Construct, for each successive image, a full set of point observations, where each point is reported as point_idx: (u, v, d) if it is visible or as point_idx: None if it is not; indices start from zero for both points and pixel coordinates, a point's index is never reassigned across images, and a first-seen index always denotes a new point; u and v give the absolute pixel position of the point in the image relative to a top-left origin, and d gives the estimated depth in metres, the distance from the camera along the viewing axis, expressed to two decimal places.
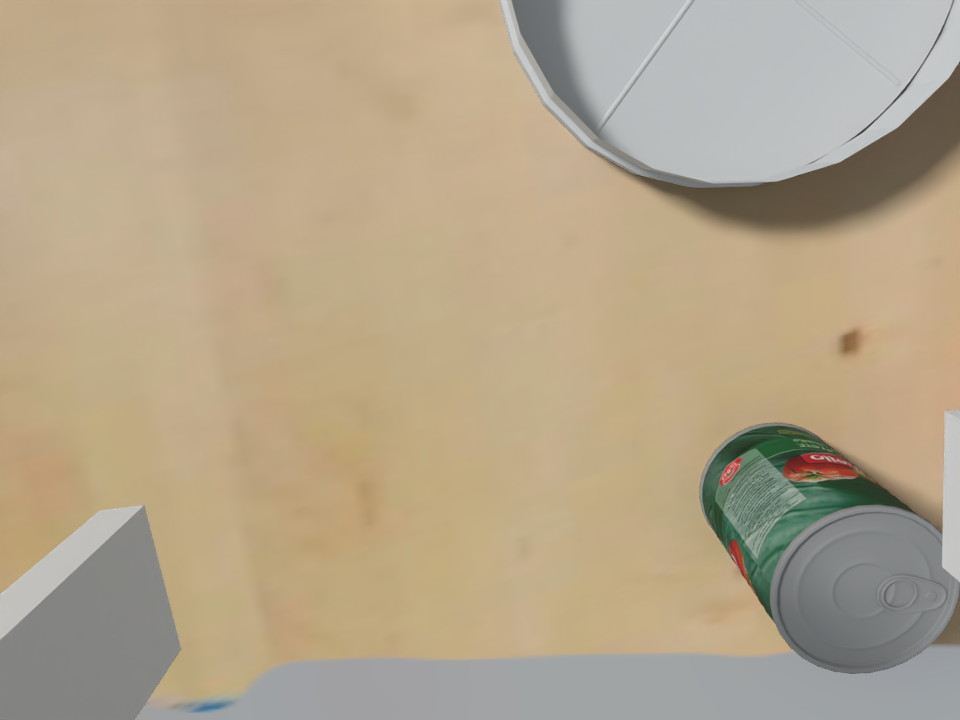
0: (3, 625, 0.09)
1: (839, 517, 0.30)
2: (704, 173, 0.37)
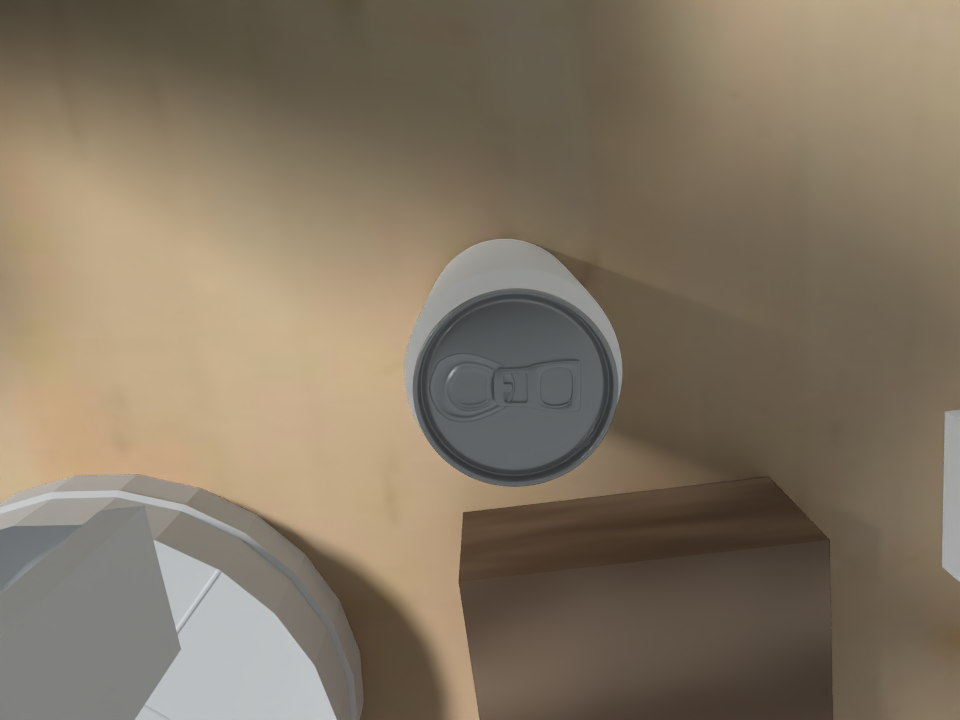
0: (3, 625, 0.09)
1: None
2: None
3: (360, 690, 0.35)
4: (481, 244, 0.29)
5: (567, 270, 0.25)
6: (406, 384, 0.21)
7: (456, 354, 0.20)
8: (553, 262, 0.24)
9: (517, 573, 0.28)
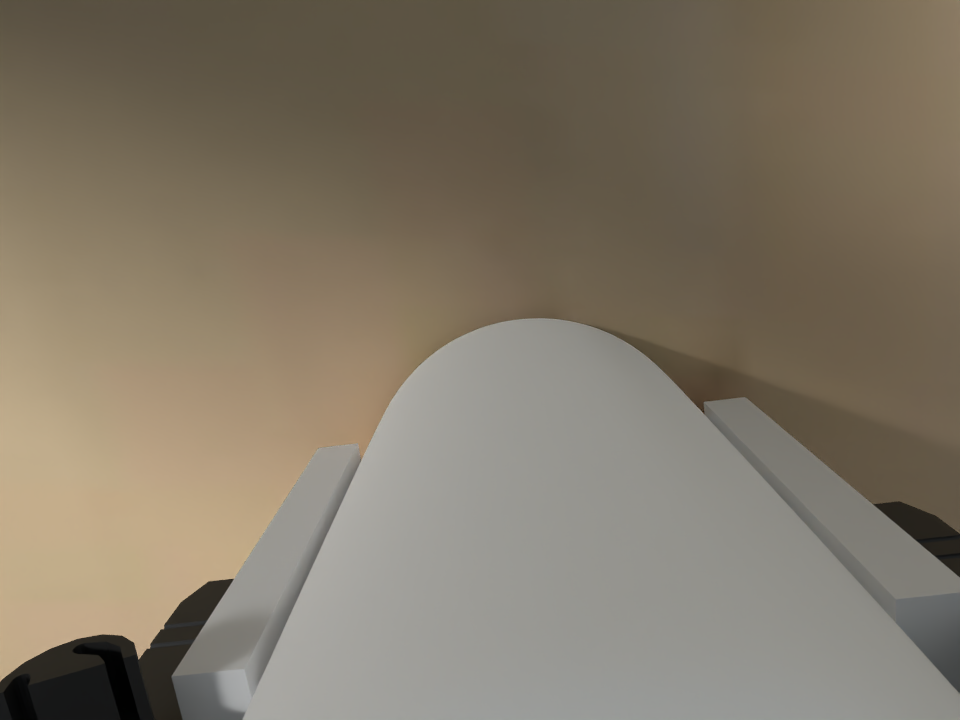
0: (304, 525, 0.10)
1: None
2: None
3: None
4: (486, 339, 0.12)
5: (740, 457, 0.09)
6: None
7: None
8: (715, 453, 0.08)
9: None
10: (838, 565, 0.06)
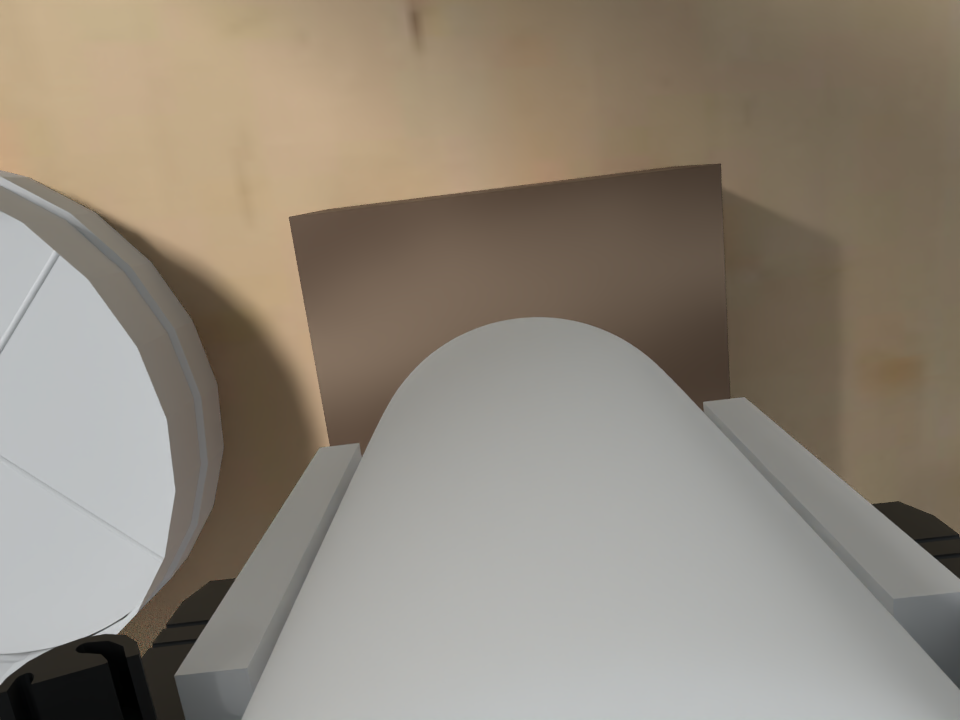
0: (306, 525, 0.10)
1: None
2: None
3: (216, 427, 0.31)
4: (486, 338, 0.12)
5: (740, 455, 0.09)
6: None
7: None
8: (715, 451, 0.08)
9: (358, 208, 0.24)
10: (838, 562, 0.06)
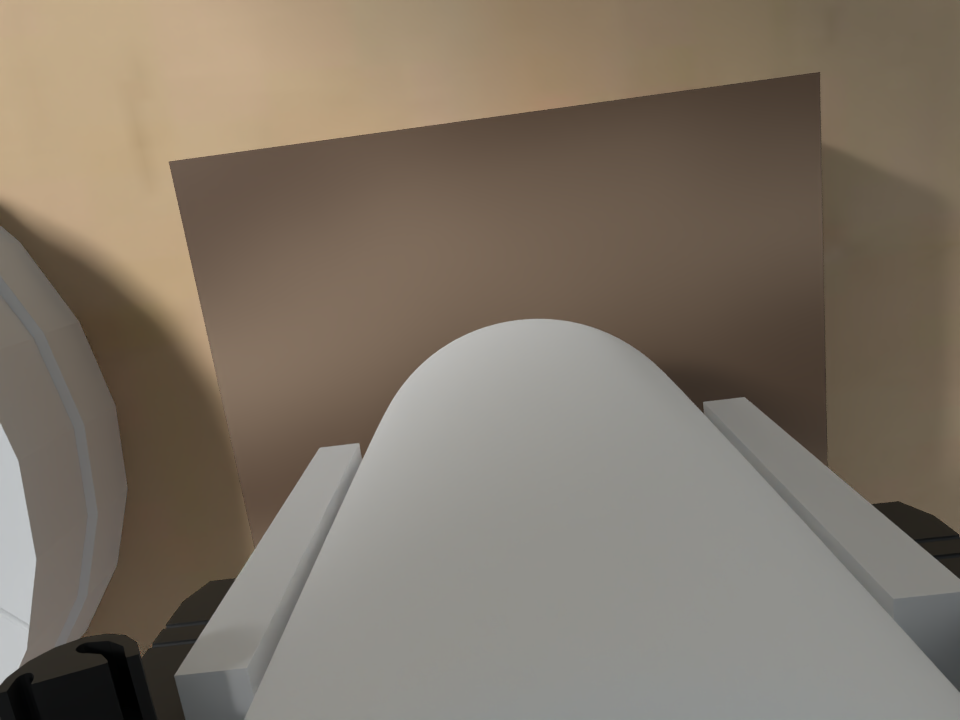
0: (306, 525, 0.10)
1: None
2: None
3: (113, 463, 0.23)
4: (486, 340, 0.12)
5: (741, 458, 0.09)
6: None
7: None
8: (717, 454, 0.08)
9: (273, 148, 0.16)
10: (840, 566, 0.06)
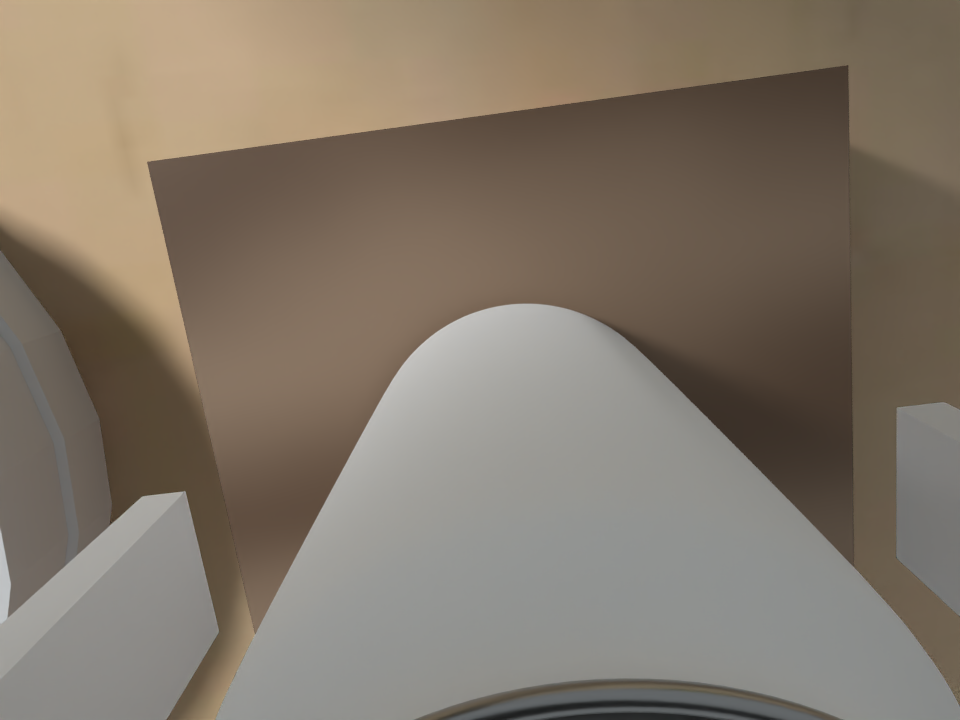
0: (65, 602, 0.09)
1: None
2: None
3: (96, 479, 0.22)
4: (479, 319, 0.14)
5: (696, 408, 0.10)
6: None
7: None
8: (671, 398, 0.09)
9: (259, 147, 0.15)
10: (763, 476, 0.08)
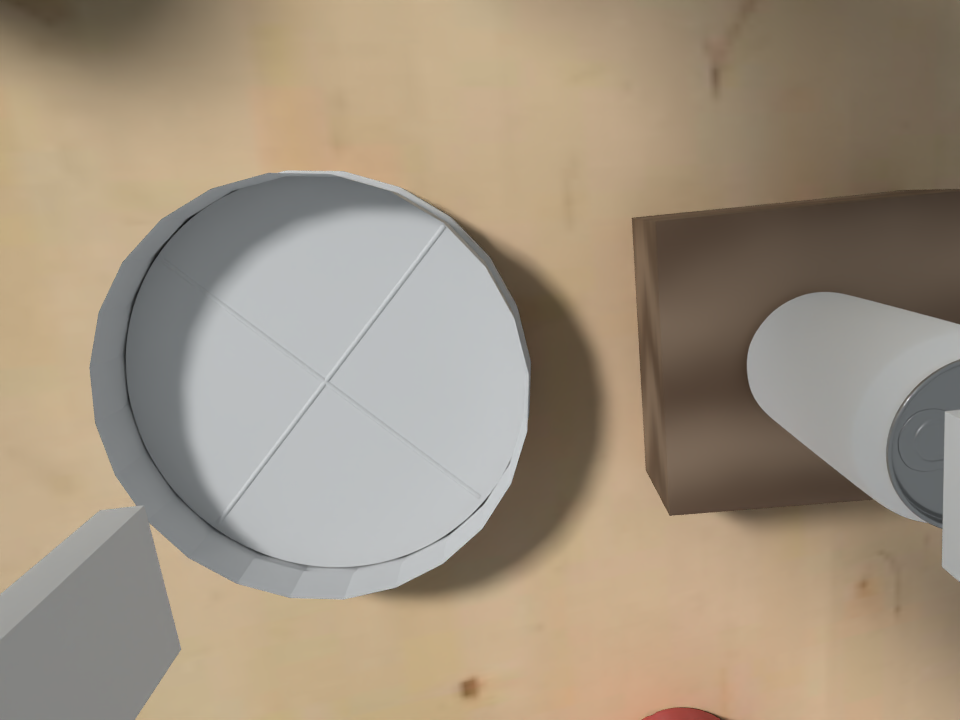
0: (3, 625, 0.09)
1: None
2: (316, 557, 0.42)
3: None
4: (819, 297, 0.31)
5: None
6: (855, 433, 0.23)
7: (929, 409, 0.22)
8: None
9: (706, 216, 0.32)
10: None
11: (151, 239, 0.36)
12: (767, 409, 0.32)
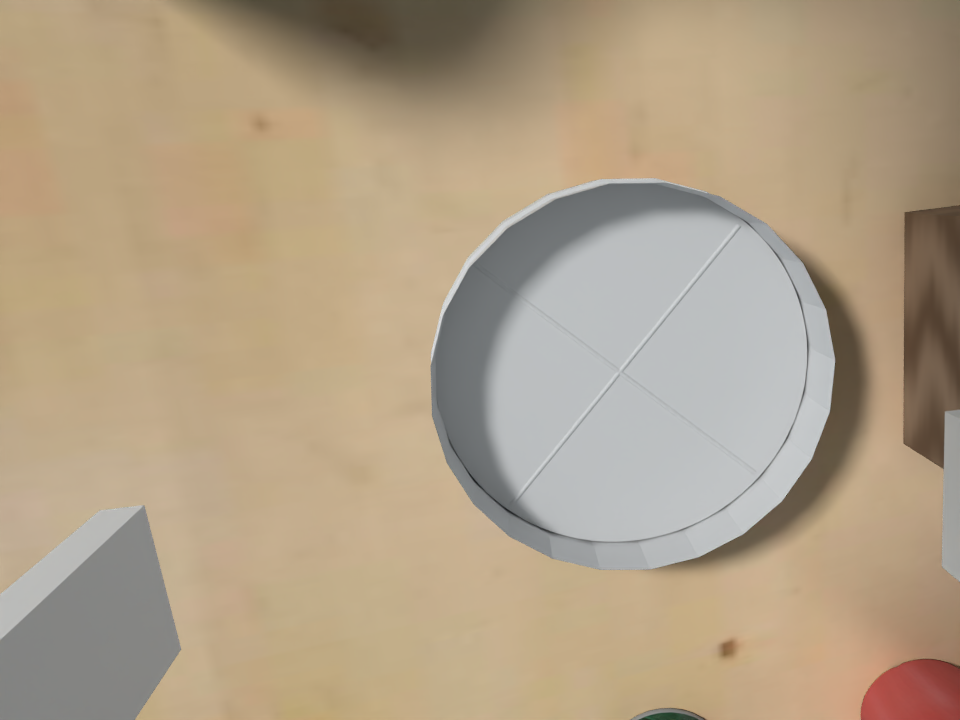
0: (3, 625, 0.09)
1: None
2: (601, 533, 0.45)
3: None
4: None
5: None
6: None
7: None
8: None
9: None
10: None
11: (488, 246, 0.39)
12: None
